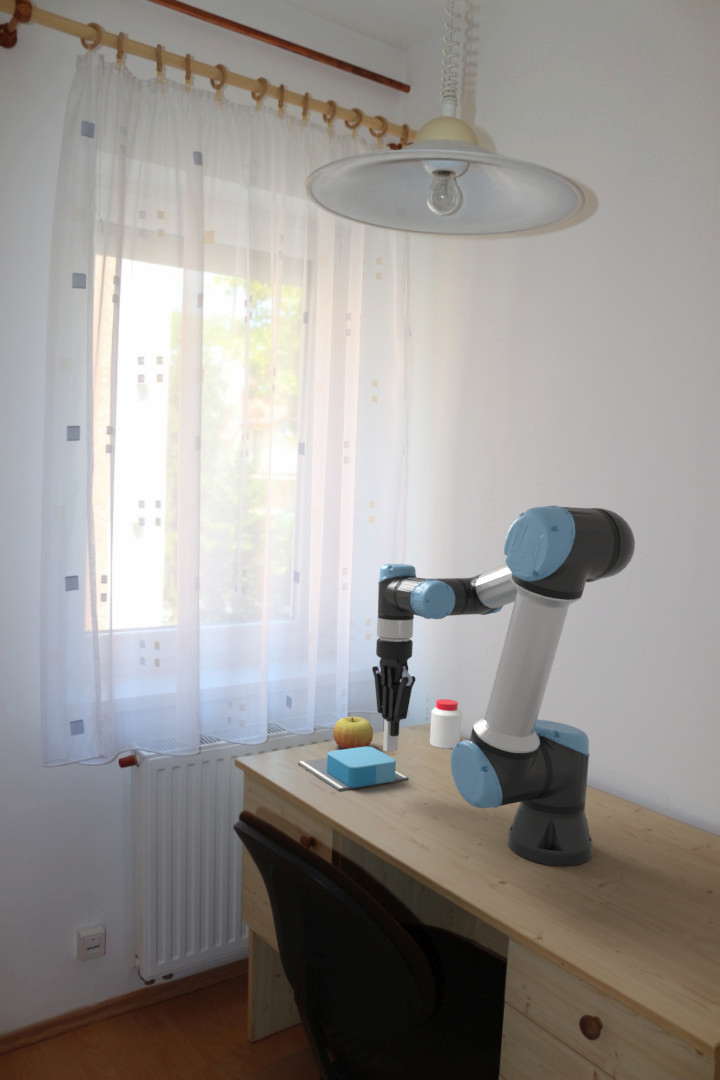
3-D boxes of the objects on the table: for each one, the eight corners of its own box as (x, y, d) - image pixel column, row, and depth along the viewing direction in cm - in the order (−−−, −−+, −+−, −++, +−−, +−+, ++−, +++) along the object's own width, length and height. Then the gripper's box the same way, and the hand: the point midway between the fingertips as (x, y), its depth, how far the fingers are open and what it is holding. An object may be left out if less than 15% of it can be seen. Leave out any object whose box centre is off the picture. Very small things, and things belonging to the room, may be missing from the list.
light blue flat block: (397, 781, 190) (369, 764, 200) (398, 760, 189) (370, 745, 200) (350, 788, 183) (324, 771, 194) (351, 767, 183) (324, 751, 193)
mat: (408, 779, 192) (408, 776, 192) (338, 791, 183) (338, 788, 183) (363, 754, 209) (364, 752, 209) (297, 764, 199) (297, 761, 199)
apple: (331, 753, 208) (333, 721, 208) (332, 741, 218) (334, 710, 218) (372, 755, 209) (374, 723, 208) (371, 743, 218) (373, 712, 218)
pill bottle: (428, 746, 218) (430, 704, 217) (430, 738, 225) (433, 696, 224) (459, 750, 216) (461, 706, 216) (460, 741, 224) (462, 699, 223)
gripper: (427, 642, 176) (422, 756, 177) (392, 632, 187) (388, 739, 188) (397, 644, 172) (392, 760, 173) (363, 634, 183) (358, 743, 184)
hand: (390, 749), depth 181 cm, fingers closed
